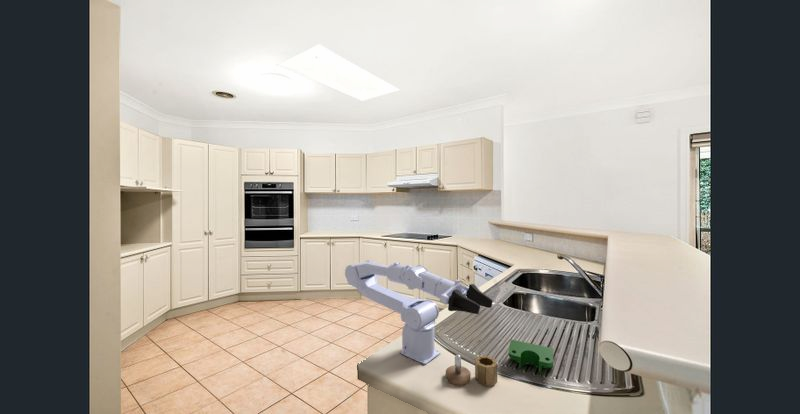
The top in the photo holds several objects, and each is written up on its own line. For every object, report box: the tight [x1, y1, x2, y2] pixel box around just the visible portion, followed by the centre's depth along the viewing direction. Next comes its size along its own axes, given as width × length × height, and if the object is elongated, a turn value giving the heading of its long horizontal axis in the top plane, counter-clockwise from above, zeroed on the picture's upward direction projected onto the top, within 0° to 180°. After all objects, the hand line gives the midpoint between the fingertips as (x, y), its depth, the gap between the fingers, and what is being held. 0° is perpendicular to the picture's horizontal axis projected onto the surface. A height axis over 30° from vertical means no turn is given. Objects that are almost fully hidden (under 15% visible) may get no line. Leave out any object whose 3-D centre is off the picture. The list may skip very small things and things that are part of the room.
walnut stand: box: [445, 365, 471, 387], centre depth 80 cm, size 6×6×2 cm
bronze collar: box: [474, 355, 498, 387], centre depth 79 cm, size 5×5×5 cm
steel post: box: [454, 354, 462, 374], centre depth 80 cm, size 2×2×5 cm
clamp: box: [508, 339, 554, 376], centre depth 84 cm, size 12×6×9 cm, turn 55°
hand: (485, 306), depth 78 cm, fingers open, 7 cm apart
